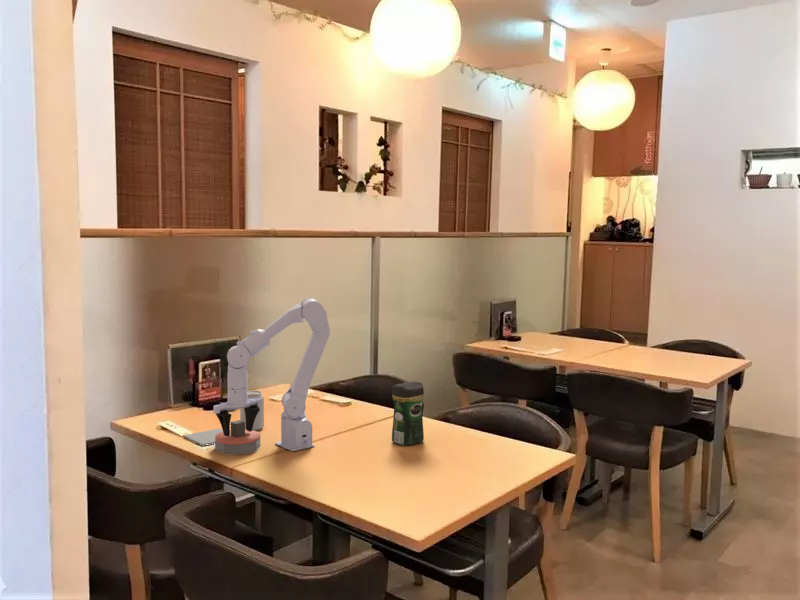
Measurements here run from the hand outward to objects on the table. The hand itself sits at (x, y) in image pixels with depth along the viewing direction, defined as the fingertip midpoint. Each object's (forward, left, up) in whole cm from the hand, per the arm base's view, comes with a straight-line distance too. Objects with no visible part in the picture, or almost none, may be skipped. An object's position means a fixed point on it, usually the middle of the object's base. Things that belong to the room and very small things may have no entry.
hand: (237, 433), depth 203 cm
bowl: (0, 0, -4) cm, 4 cm away
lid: (0, 0, -2) cm, 2 cm away
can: (+15, -14, -5) cm, 21 cm away
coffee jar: (-28, -42, -5) cm, 51 cm away
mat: (+14, +1, -4) cm, 15 cm away
